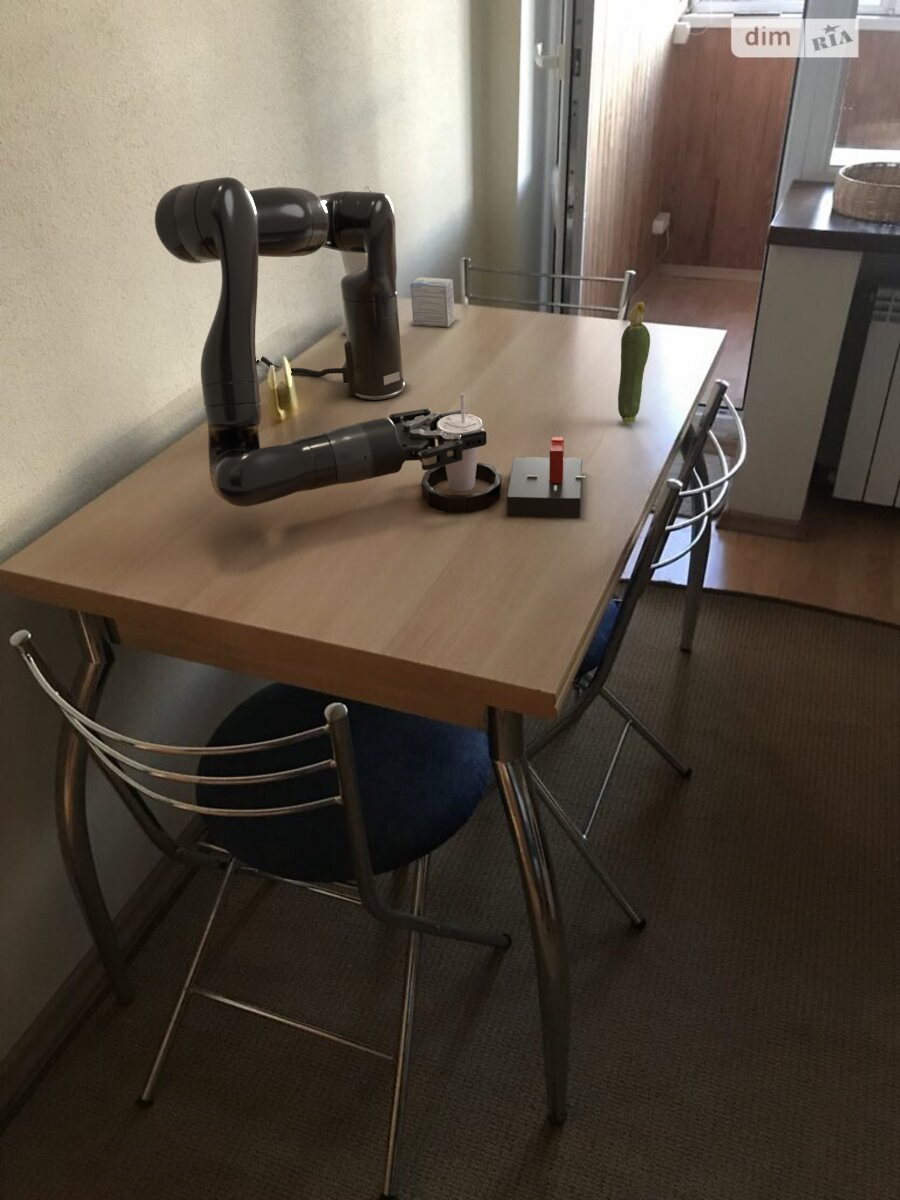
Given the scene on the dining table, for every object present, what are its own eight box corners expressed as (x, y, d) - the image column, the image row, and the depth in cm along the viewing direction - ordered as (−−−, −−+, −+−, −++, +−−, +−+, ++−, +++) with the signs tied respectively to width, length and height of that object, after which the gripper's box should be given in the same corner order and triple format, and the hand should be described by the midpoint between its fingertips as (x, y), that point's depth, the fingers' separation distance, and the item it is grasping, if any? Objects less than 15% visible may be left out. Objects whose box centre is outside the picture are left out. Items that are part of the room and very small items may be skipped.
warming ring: (417, 512, 134) (416, 496, 132) (429, 474, 143) (428, 459, 141) (497, 514, 132) (496, 498, 131) (504, 476, 141) (503, 461, 140)
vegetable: (613, 417, 156) (620, 295, 145) (640, 415, 156) (649, 293, 145) (620, 428, 152) (627, 304, 141) (646, 426, 153) (656, 302, 141)
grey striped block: (455, 320, 198) (453, 278, 193) (448, 328, 195) (446, 285, 190) (420, 318, 200) (417, 276, 195) (412, 325, 197) (409, 283, 192)
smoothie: (479, 497, 134) (477, 404, 126) (435, 494, 135) (430, 402, 127) (487, 475, 139) (485, 385, 131) (444, 473, 140) (440, 383, 132)
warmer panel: (507, 515, 132) (506, 495, 130) (513, 475, 141) (513, 455, 140) (584, 517, 130) (585, 497, 128) (585, 476, 140) (586, 457, 138)
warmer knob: (562, 483, 132) (563, 449, 129) (549, 483, 132) (549, 449, 129) (563, 470, 135) (564, 436, 132) (550, 470, 136) (551, 436, 133)
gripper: (376, 447, 120) (496, 421, 125) (342, 405, 131) (454, 383, 136) (381, 499, 124) (497, 472, 129) (348, 455, 135) (456, 431, 140)
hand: (474, 426), depth 132 cm, fingers closed on smoothie, 6 cm apart
